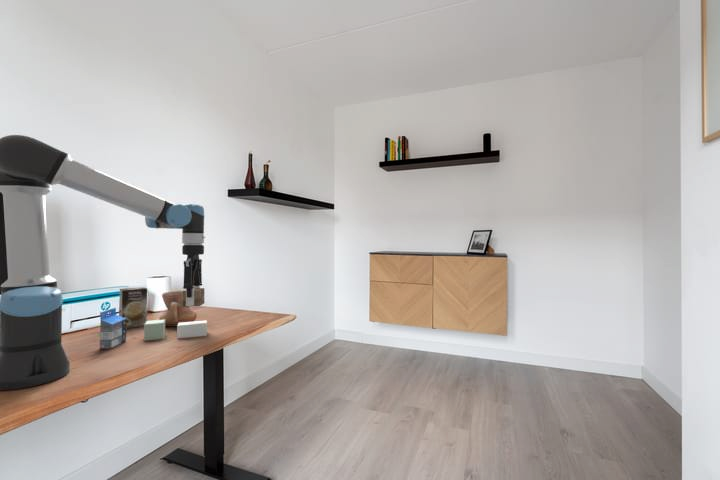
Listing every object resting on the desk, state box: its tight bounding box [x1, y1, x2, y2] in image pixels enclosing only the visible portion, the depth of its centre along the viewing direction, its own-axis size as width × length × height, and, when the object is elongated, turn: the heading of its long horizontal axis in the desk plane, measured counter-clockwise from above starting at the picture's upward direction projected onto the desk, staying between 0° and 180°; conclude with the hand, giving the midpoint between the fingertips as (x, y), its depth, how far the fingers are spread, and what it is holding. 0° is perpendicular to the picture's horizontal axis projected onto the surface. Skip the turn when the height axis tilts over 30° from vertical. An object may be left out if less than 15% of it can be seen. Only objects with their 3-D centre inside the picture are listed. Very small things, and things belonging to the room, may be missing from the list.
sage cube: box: [143, 319, 166, 341], centre depth 125 cm, size 6×6×6 cm
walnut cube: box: [182, 287, 205, 307], centre depth 128 cm, size 6×6×6 cm
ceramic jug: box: [158, 289, 198, 327], centre depth 145 cm, size 18×14×14 cm
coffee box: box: [118, 286, 148, 329], centre depth 142 cm, size 9×6×16 cm
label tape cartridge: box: [99, 307, 127, 350], centre depth 116 cm, size 9×4×12 cm, turn 7°
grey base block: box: [176, 319, 208, 339], centre depth 128 cm, size 5×10×5 cm, turn 113°
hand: (193, 303), depth 128 cm, fingers closed on walnut cube, 6 cm apart
